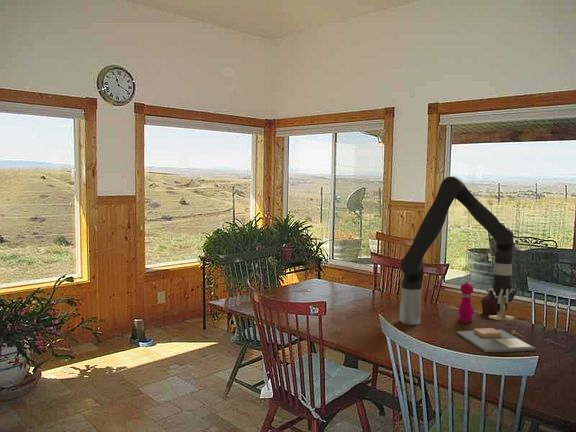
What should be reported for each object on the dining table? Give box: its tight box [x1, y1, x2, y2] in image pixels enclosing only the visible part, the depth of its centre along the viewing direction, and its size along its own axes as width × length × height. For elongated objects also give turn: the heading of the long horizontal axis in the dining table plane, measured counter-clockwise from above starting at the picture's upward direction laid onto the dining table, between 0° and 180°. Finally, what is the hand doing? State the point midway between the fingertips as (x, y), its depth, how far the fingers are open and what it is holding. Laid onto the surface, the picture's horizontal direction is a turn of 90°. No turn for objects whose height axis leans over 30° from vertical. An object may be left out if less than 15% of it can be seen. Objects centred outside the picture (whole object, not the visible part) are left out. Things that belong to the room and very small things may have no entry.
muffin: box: [480, 294, 497, 317], centre depth 247 cm, size 12×11×10 cm
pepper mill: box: [457, 280, 475, 323], centre depth 236 cm, size 7×7×20 cm
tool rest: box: [495, 337, 533, 348], centre depth 201 cm, size 10×10×1 cm
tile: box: [473, 327, 501, 337], centre depth 212 cm, size 2×7×9 cm
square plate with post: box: [488, 296, 516, 321], centre depth 212 cm, size 8×7×11 cm
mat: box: [456, 329, 536, 354], centre depth 206 cm, size 22×24×1 cm
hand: (500, 311), depth 212 cm, fingers closed on square plate with post, 2 cm apart
